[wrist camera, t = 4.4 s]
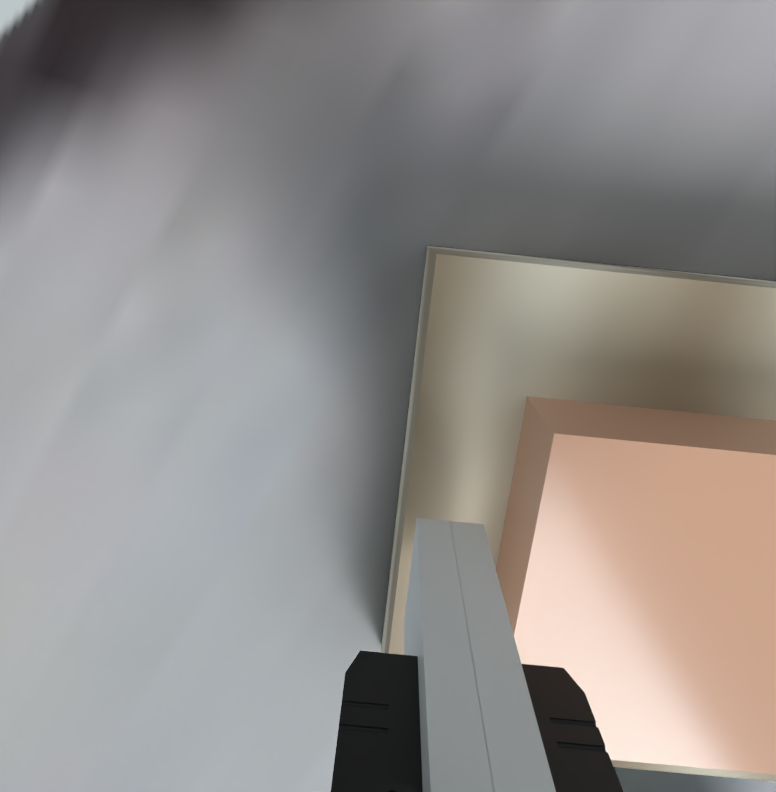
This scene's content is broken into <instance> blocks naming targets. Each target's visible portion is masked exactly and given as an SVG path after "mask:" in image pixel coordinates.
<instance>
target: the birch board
mask: <svg viewBox="0 0 776 792" xmlns="http://www.w3.org/2000/svg"><path fill="white" fill-rule="evenodd" d="M527 396H530V397H540V398H550V399H560V400H570V401H580V402H591V403H601V404H611V405H621V406H631V407H641V408H652V409H662V410H672V411H682V412H692V413H702V414H713V415H723V416H733V417H743V418H753V419H764V420H774V421H776V281H769V280H759V279H749V278H739V277H729V276H719V275H709V274H700V273H690V272H680V271H670V270H660V269H650V268H641V267H631V266H621V265H611V264H601V263H591V262H582V261H572V260H562V259H552V258H542V257H532V256H522V255H513V254H503V253H493V252H483V251H473V250H463V249H454V248H444V247H434V246H427V253H426V261H425V270H424V279H423V288H422V296H421V305H420V314H419V323H418V331H417V340H416V349H415V358H414V366H413V375H412V384H411V392H410V401H409V410H408V419H407V427H406V436H405V445H404V454H403V462H402V471H401V480H400V489H399V497H398V506H397V515H396V524H395V532H394V541H393V550H392V558H391V567H390V576H389V585H388V593H387V602H386V611H385V620H384V628H383V637H382V646H381V653H389V654H400V655H404V617H405V609H406V601H407V592H408V584H409V576H410V568H411V560H412V552H413V544H414V536H415V527H416V519H417V518H423V519H434V520H445V521H455V522H466V523H476V524H484V527H485V531H486V535H487V538H488V542H489V546H490V550H491V553H492V557H493V561H494V564H495V568H496V566H497V560H498V555H499V549H500V544H501V538H502V533H503V527H504V521H505V516H506V510H507V505H508V499H509V494H510V488H511V483H512V477H513V471H514V466H515V460H516V455H517V449H518V444H519V438H520V433H521V427H522V421H523V416H524V410H525V405H526V399H527ZM611 762H612V764H613V767H618V768H630V769H641V770H652V771H663V772H674V773H685V774H696V775H708V776H719V777H730V778H741V779H752V780H763V781H774V782H776V775H774V774H763V773H752V772H741V771H730V770H719V769H708V768H697V767H685V766H674V765H663V764H652V763H641V762H630V761H619V760H611Z"/></svg>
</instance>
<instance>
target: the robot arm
mask: <svg viewBox="0 0 776 792" xmlns="http://www.w3.org/2000/svg"><path fill="white" fill-rule="evenodd" d="M331 792H623V790H622V787H621V785H620V782H619V780H618V777H617V775H616V772H615V769H614V767H613V764H612V762H611V759H610V756H609V754H608V752H606V750H605V744H604V741H603V738H602V736H601V733H600V731H599V728H598V727H596V720H595V718H594V715H593V713H592V710H591V707H590V705H589V702H588V700H587V697H586V695H585V693H584V691H583V690H582V689H581V688H580V687H579V685H578V684H577V683H576V682H575V681H574V679H573V678H572V677H571V676H570V675H569V674H568V672H567V671H566V670H565V669H564V668H561V667H550V666H539V665H529V664H521V661H520V657H519V653H518V650H517V646H516V642H515V638H514V635H513V631H512V627H511V624H510V620H509V616H508V613H507V609H506V605H505V601H504V598H503V594H502V590H501V587H500V583H499V579H498V575H497V572H496V568H495V564H494V561H493V557H492V553H491V550H490V546H489V542H488V538H487V535H486V531H485V527H484V524H476V523H466V522H455V521H445V520H434V519H423V518H417V519H416V527H415V536H414V544H413V552H412V560H411V568H410V576H409V584H408V592H407V601H406V609H405V617H404V655H400V654H389V653H379V652H368V651H360V652H359V654H358V655H357V657H356V658H355V660H354V661H353V662H352V664H351V665H350V667H349V668H348V670H347V671H346V673H345V681H344V690H343V698H342V706H341V714H340V722H339V730H338V739H337V747H336V755H335V763H334V771H333V779H332V787H331Z"/></svg>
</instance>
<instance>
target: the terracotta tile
mask: <svg viewBox="0 0 776 792" xmlns="http://www.w3.org/2000/svg"><path fill="white" fill-rule="evenodd" d="M496 572H497V575H498V579H499V583H500V587H501V590H502V594H503V598H504V601H505V605H506V609H507V613H508V616H509V620H510V624H511V627H512V631H513V635H514V638H515V642H516V646H517V650H518V653H519V657H520V661H521V664H529V665H539V666H550V667H561V668H564V669H565V670H566V671H567V672H568V674H569V675H570V676H571V677H572V678H573V679H574V681H575V682H576V683H577V684H578V685H579V687H580V688H581V689H582V690H583V691H584V693H585V695H586V697H587V700H588V702H589V705H590V707H591V710H592V713H593V715H594V718H595V720H596V727H598V728H599V731H600V733H601V736H602V738H603V741H604V744H605V750H606V752H608V754H609V756H610V759H611V760H619V761H630V762H641V763H652V764H663V765H674V766H685V767H697V768H708V769H719V770H730V771H741V772H752V773H763V774H774V775H776V421H774V420H764V419H753V418H743V417H733V416H723V415H713V414H702V413H692V412H682V411H672V410H662V409H652V408H641V407H631V406H621V405H611V404H601V403H591V402H580V401H570V400H560V399H550V398H540V397H530V396H527V399H526V405H525V410H524V416H523V421H522V427H521V433H520V438H519V444H518V449H517V455H516V460H515V466H514V471H513V477H512V483H511V488H510V494H509V499H508V505H507V510H506V516H505V521H504V527H503V533H502V538H501V544H500V549H499V555H498V560H497V566H496Z"/></svg>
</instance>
